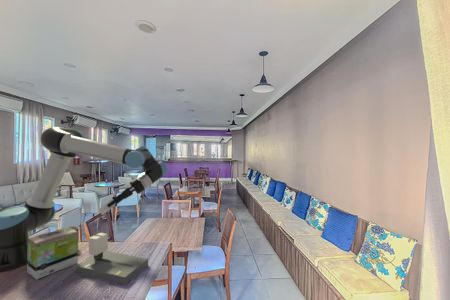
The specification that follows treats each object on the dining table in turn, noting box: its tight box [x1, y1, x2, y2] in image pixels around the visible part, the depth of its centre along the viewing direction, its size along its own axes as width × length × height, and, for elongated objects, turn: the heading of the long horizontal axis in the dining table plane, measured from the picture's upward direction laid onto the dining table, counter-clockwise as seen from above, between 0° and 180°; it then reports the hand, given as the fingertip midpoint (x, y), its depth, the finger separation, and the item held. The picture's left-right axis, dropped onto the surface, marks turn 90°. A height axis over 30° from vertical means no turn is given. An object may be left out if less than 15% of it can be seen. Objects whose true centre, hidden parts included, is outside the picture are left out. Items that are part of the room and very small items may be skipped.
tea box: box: [26, 226, 79, 281], centre depth 93 cm, size 15×10×15 cm
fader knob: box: [88, 232, 109, 260], centre depth 94 cm, size 4×6×10 cm, turn 163°
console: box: [75, 250, 149, 286], centre depth 92 cm, size 25×14×3 cm, turn 73°
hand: (100, 212), depth 98 cm, fingers open, 13 cm apart
